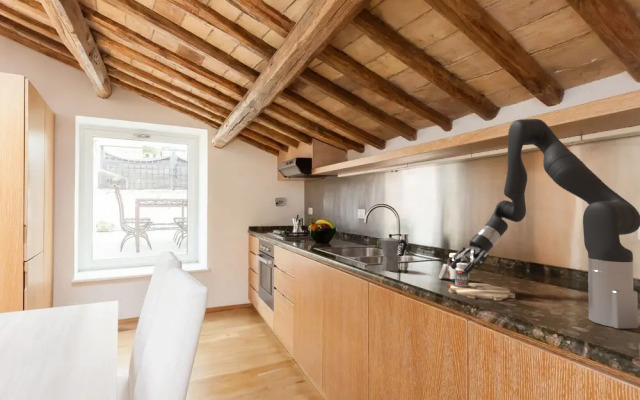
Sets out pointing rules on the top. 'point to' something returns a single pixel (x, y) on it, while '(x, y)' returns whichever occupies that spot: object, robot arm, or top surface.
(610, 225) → the robot arm
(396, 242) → the coffeepot
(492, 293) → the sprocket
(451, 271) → the spread jar
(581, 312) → the top surface
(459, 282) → the pill bottle
